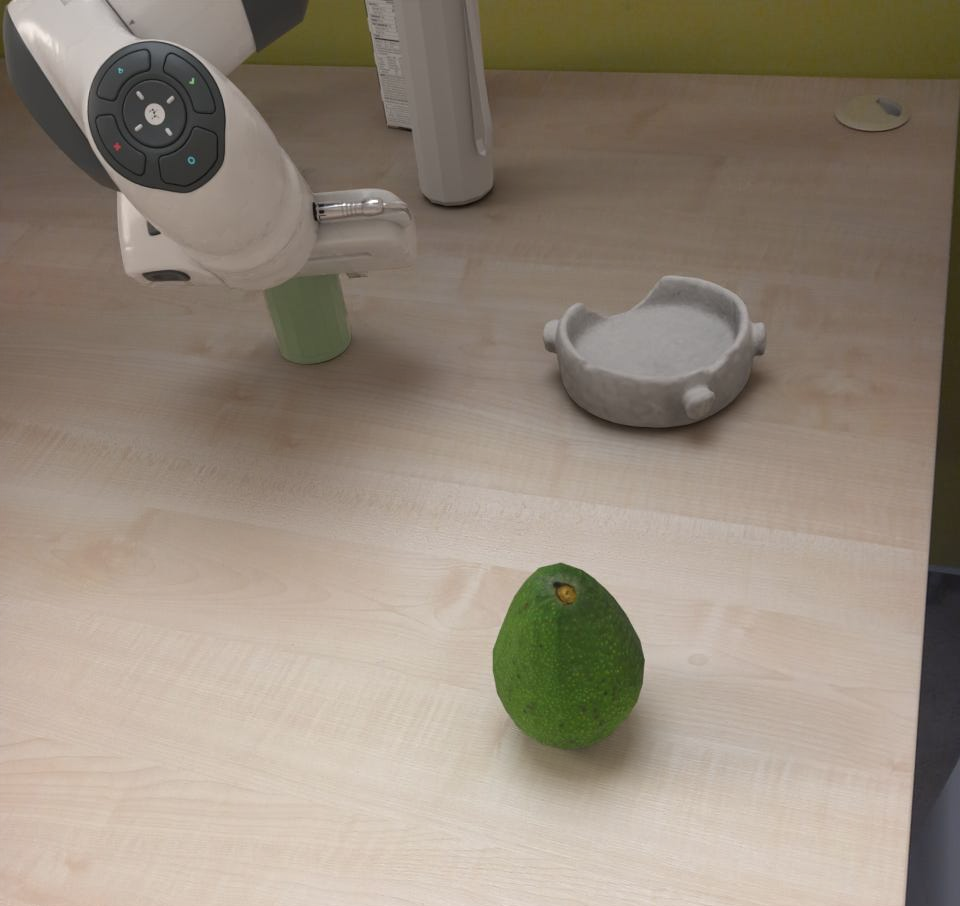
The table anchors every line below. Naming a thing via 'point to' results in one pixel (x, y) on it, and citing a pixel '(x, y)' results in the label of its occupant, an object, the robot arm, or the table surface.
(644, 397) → the dish
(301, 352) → the green cup
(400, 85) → the candy bar box
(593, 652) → the avocado
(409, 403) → the table surface
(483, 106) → the water bottle
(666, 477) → the table surface
